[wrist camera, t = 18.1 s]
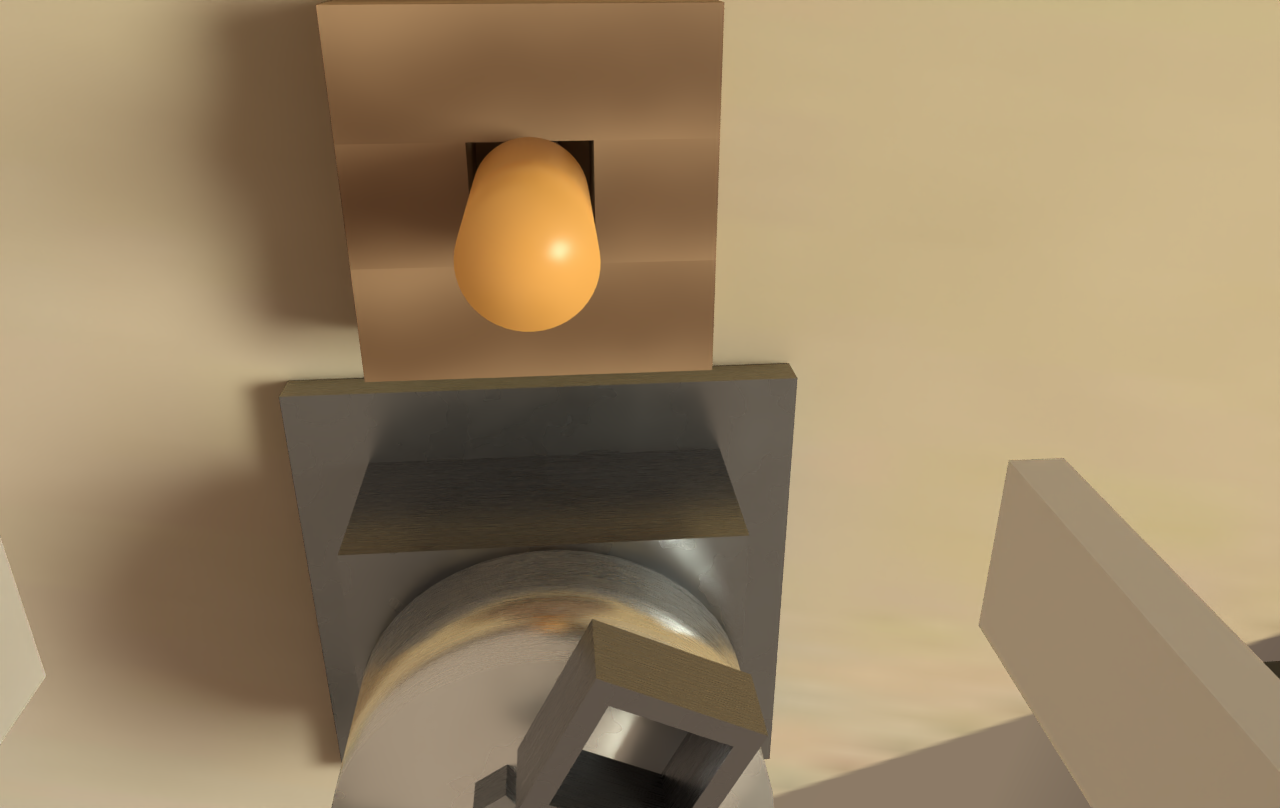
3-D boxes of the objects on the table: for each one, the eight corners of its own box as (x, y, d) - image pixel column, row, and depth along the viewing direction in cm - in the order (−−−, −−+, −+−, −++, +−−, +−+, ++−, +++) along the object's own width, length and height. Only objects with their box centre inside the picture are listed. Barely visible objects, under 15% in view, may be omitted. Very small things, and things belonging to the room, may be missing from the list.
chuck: (461, 465, 32) (434, 637, 24) (826, 604, 36) (906, 793, 28) (305, 789, 37) (242, 1017, 29) (639, 882, 41) (661, 1106, 33)
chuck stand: (288, 380, 39) (229, 481, 32) (788, 363, 41) (841, 455, 33) (351, 762, 47) (316, 910, 40) (763, 736, 49) (800, 873, 42)
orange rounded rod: (475, 112, 34) (445, 195, 24) (579, 108, 35) (596, 186, 24) (486, 215, 36) (462, 336, 25) (585, 209, 36) (603, 327, 25)
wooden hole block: (346, -5, 33) (315, 4, 29) (700, -6, 34) (724, 2, 30) (385, 329, 38) (365, 382, 34) (692, 320, 39) (712, 369, 35)
